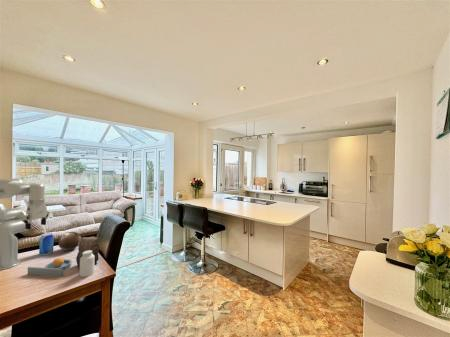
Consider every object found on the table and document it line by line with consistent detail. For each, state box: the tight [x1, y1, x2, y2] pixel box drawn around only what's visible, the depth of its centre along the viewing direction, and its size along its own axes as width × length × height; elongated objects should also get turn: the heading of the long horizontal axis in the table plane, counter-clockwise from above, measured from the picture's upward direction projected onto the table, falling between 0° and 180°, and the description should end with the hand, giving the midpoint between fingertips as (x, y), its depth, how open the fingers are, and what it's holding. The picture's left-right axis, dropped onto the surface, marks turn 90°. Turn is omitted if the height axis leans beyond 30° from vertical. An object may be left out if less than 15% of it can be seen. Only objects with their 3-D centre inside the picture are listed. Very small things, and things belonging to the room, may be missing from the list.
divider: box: [27, 266, 64, 278], centre depth 123 cm, size 24×1×4 cm, turn 86°
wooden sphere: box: [58, 231, 82, 251], centre depth 161 cm, size 15×15×15 cm
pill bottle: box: [79, 250, 95, 278], centre depth 125 cm, size 8×8×15 cm
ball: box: [52, 257, 64, 267], centre depth 132 cm, size 6×6×6 cm
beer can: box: [38, 232, 55, 256], centre depth 153 cm, size 8×8×16 cm
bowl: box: [43, 258, 73, 271], centre depth 132 cm, size 14×14×2 cm
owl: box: [75, 235, 100, 271], centre depth 137 cm, size 13×13×20 cm
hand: (36, 226), depth 128 cm, fingers open, 9 cm apart
